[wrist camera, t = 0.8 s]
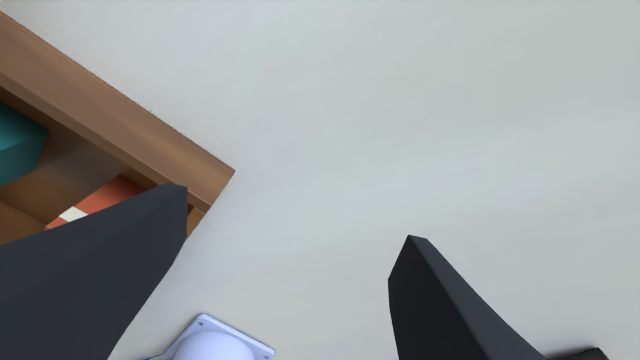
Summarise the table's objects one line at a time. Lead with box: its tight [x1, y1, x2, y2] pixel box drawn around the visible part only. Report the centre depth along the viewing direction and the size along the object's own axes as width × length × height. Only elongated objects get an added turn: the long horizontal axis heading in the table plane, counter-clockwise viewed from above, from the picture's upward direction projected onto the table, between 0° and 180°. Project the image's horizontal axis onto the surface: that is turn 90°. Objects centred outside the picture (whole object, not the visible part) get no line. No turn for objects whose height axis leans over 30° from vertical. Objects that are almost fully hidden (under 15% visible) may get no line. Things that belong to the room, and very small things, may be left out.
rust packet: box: [44, 174, 147, 231], centre depth 19 cm, size 4×4×6 cm
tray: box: [0, 11, 235, 244], centre depth 19 cm, size 13×16×4 cm
